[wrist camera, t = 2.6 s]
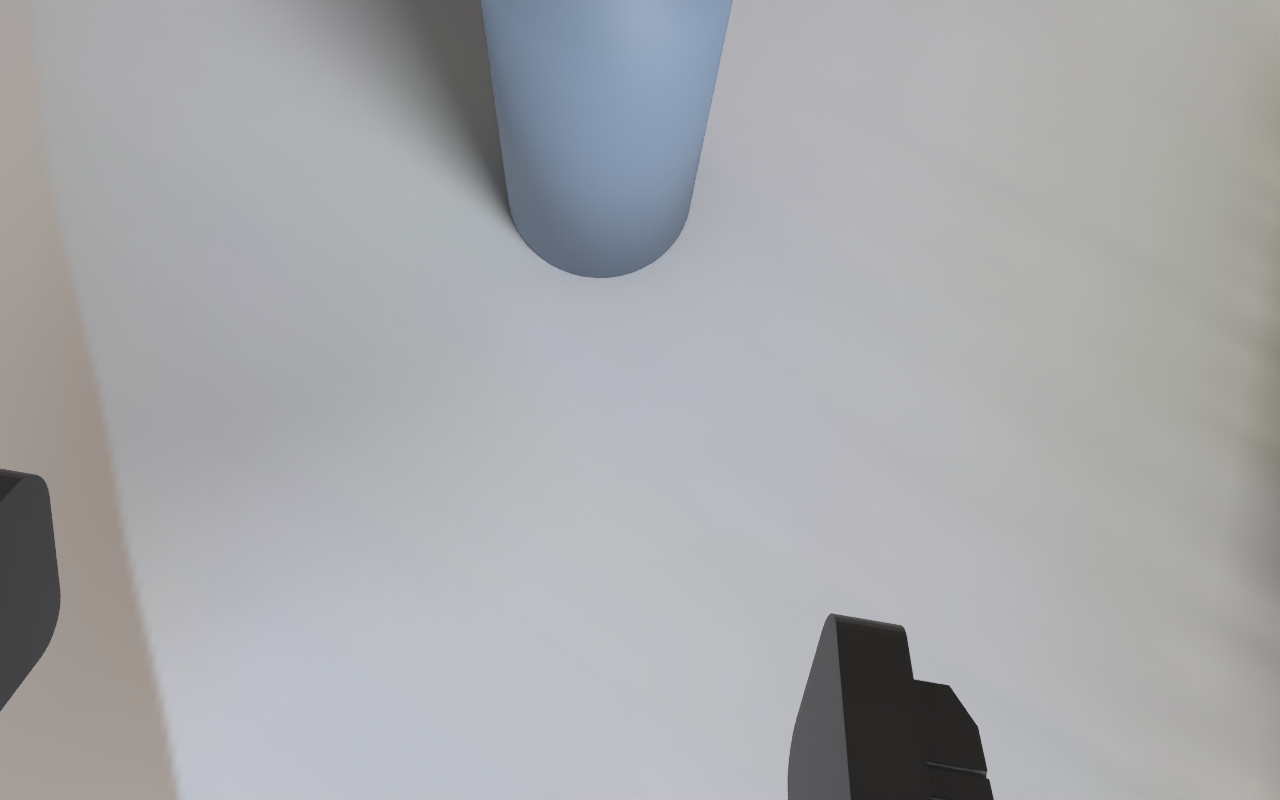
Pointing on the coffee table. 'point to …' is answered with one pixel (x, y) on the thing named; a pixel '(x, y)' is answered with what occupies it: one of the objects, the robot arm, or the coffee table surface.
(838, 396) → the coffee table surface
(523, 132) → the peg
